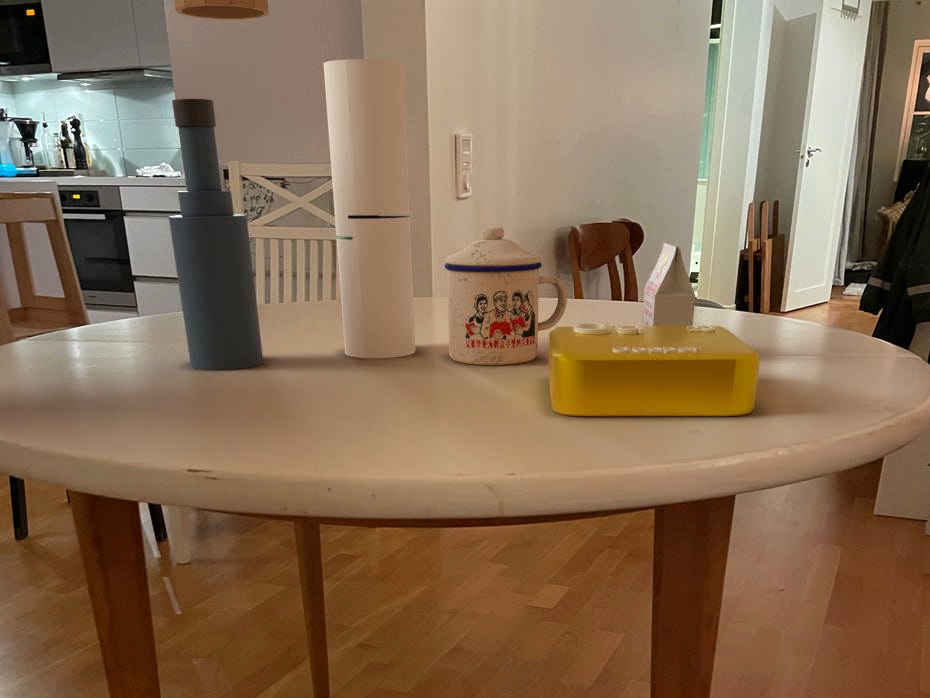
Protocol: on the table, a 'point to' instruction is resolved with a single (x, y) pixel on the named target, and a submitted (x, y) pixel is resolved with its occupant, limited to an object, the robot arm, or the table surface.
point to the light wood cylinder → (223, 8)
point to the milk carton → (668, 292)
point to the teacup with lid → (496, 302)
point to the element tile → (651, 371)
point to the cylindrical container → (371, 205)
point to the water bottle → (212, 253)
